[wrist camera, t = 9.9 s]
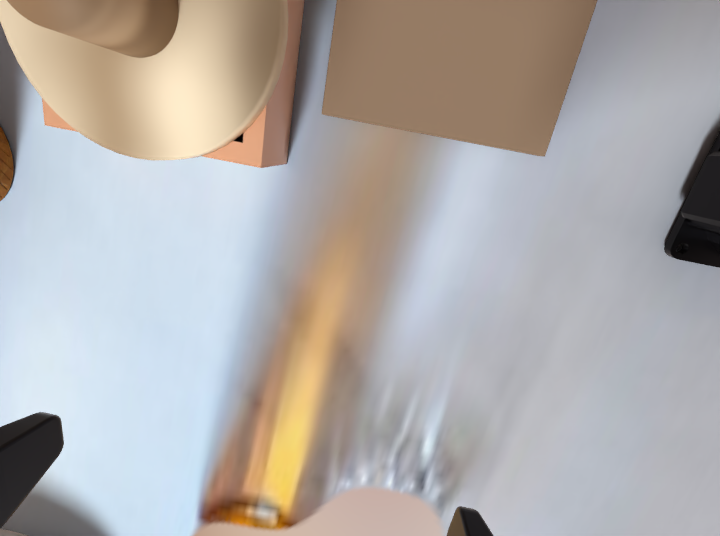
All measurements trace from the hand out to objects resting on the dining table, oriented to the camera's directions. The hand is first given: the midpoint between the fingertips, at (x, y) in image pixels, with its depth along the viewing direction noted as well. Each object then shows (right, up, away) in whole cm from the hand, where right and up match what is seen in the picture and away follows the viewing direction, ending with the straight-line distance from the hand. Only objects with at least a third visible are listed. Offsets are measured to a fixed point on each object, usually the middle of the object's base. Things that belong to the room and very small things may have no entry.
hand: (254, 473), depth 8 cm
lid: (-5, +14, +5) cm, 15 cm away
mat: (+7, +15, +7) cm, 18 cm away
